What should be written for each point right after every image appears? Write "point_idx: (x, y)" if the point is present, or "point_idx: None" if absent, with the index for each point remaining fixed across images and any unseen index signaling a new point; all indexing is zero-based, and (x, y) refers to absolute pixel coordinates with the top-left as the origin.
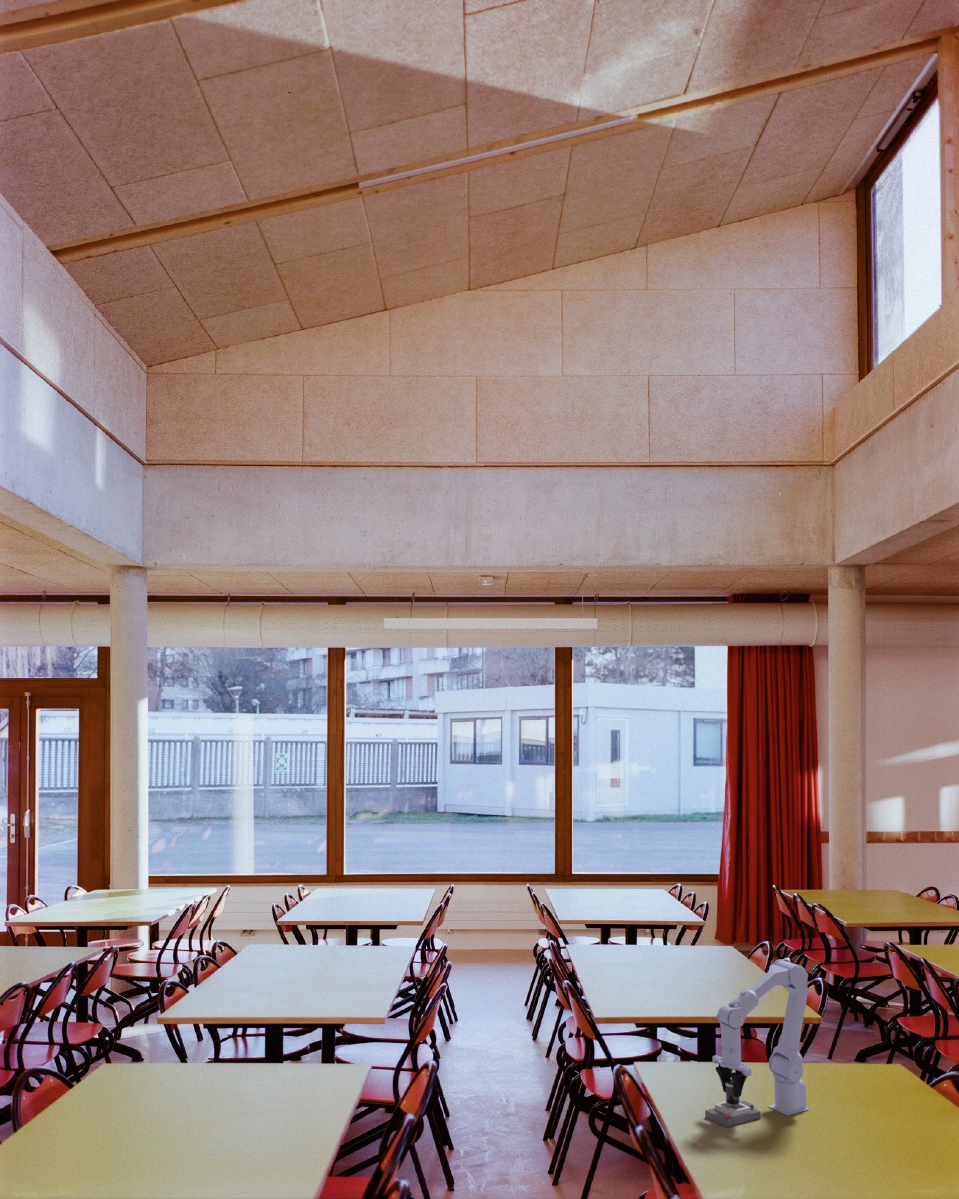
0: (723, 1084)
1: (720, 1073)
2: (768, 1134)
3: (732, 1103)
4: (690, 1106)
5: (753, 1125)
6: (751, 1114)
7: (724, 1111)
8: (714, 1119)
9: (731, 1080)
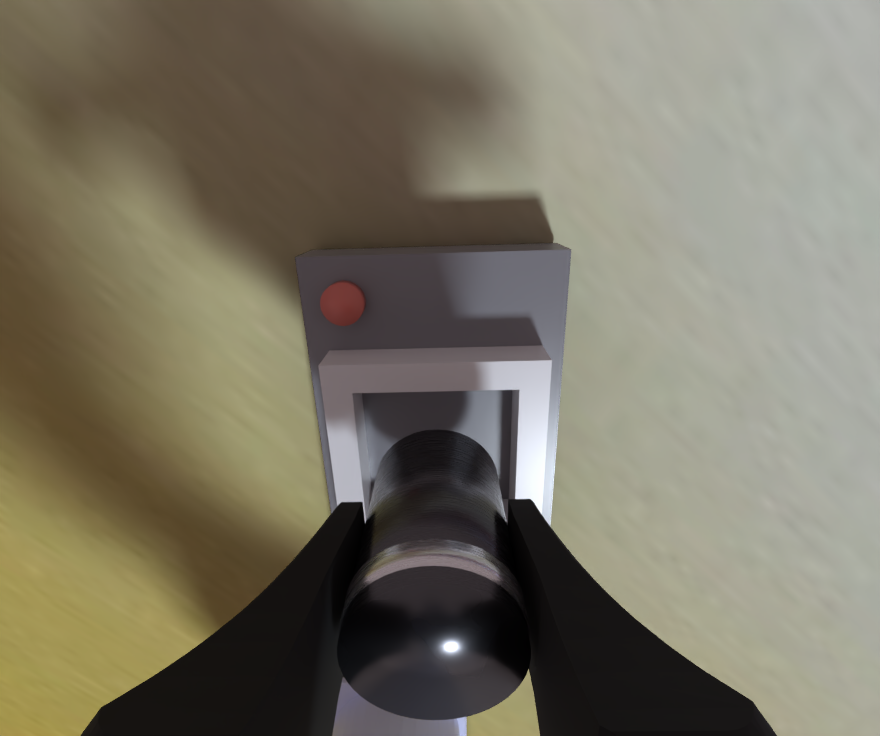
0: (528, 549)
1: (597, 671)
2: (119, 428)
3: (390, 449)
4: (797, 306)
5: (284, 449)
6: (333, 510)
7: (422, 353)
8: (447, 247)
9: (464, 669)
